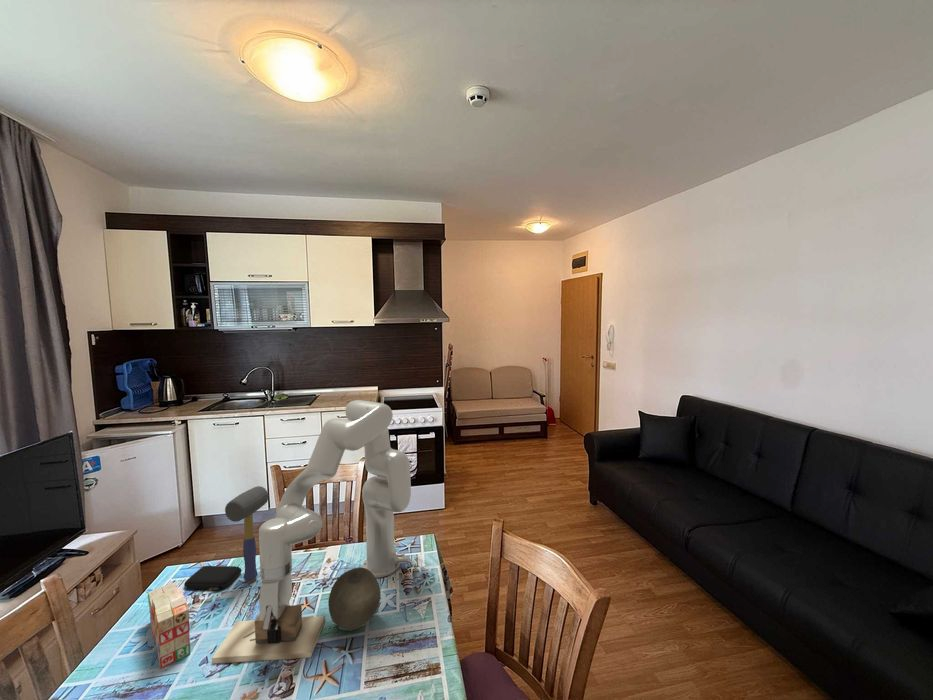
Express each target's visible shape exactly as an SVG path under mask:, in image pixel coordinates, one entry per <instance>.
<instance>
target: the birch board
mask: <svg viewBox="0 0 933 700" xmlns="http://www.w3.org/2000/svg"><path fill="white" fill-rule="evenodd" d="M255 620H256V619H252V620H251V619H250V620H248V619H247V620H237V621H236V623H235V624H234V625H233V627H232V628H231V630H230V631H229V632H228V634H226V637H225V638H224V640H223V641H222V643H221V644H220V646H218V648H217V649H216V651H215V652H214V654H213V655H212V657H211V664H213V665H214V664H226V663H227V664H229V663H244V662H257V661H259V662H260V661H271V660H272V661H273V660H274V661H275V660H288V659H305V658H306V659H307V658H311V657H312V655H313V653H314V650H315V647H316V646H317V643H318V640H319V637H320V635H321V634H322V633H321V632H322V629H323V627H324V625H325V623H326V616H325V615H321V616H320V615H319V616H318V615H317V616H302V627H301V630H300V632H299V634H298V636H297V638H296V641H285V642H280V643H271V644H268V643H256V640H255Z"/></svg>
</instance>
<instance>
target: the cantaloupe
mask: <svg viewBox="0 0 933 700" xmlns="http://www.w3.org/2000/svg"><path fill="white" fill-rule="evenodd" d="M381 593H382V591H381V587H380V583H379V581H378V578H375V576H374V575H373V574H372V572H371V571H369V570H368V569H366V568H362V566H361V567H354V568H351V569H349V570H347V571H345V572H343V573H342V574H340V576H338V577H337V578H336V580H335V581H334V583H333V585H332V586H331V589H330V592H329V596H328V603H327V604H328V612H329V616H330V618H331V620H332V622H333V623H334V625H336V627H337V628H339V629H340V630H344V631H355V630H358V629H361V628H362V627H364V626H365V625H366V624H367V623H368V622H369V621H370V620H371V619H372V618H373V617H374V615H375V614H376V612H377V610H378V609H379V606H380V602H381V597H382V596H381V595H382V594H381Z"/></svg>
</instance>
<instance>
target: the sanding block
mask: <svg viewBox="0 0 933 700" xmlns="http://www.w3.org/2000/svg"><path fill="white" fill-rule="evenodd" d="M302 610H303V606H302V604H295V605H290V606H286V607H285V609H284V611H283V613H282V615H281V616H280V620H279V627H281V641H280V642H285V641H296V638H297V636H298V634H299V632H300V630H301V627H302V617H303V613H302ZM272 615H273V614H272ZM254 620H255V640H256V643H268V642H267V631H266V630H263V626H264V621H265V619H264V620H262V621H261V620H260V616H259V614H258V615H257V616H256V619H254ZM271 623H274V624H275V623H276V619H273V620H271Z"/></svg>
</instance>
